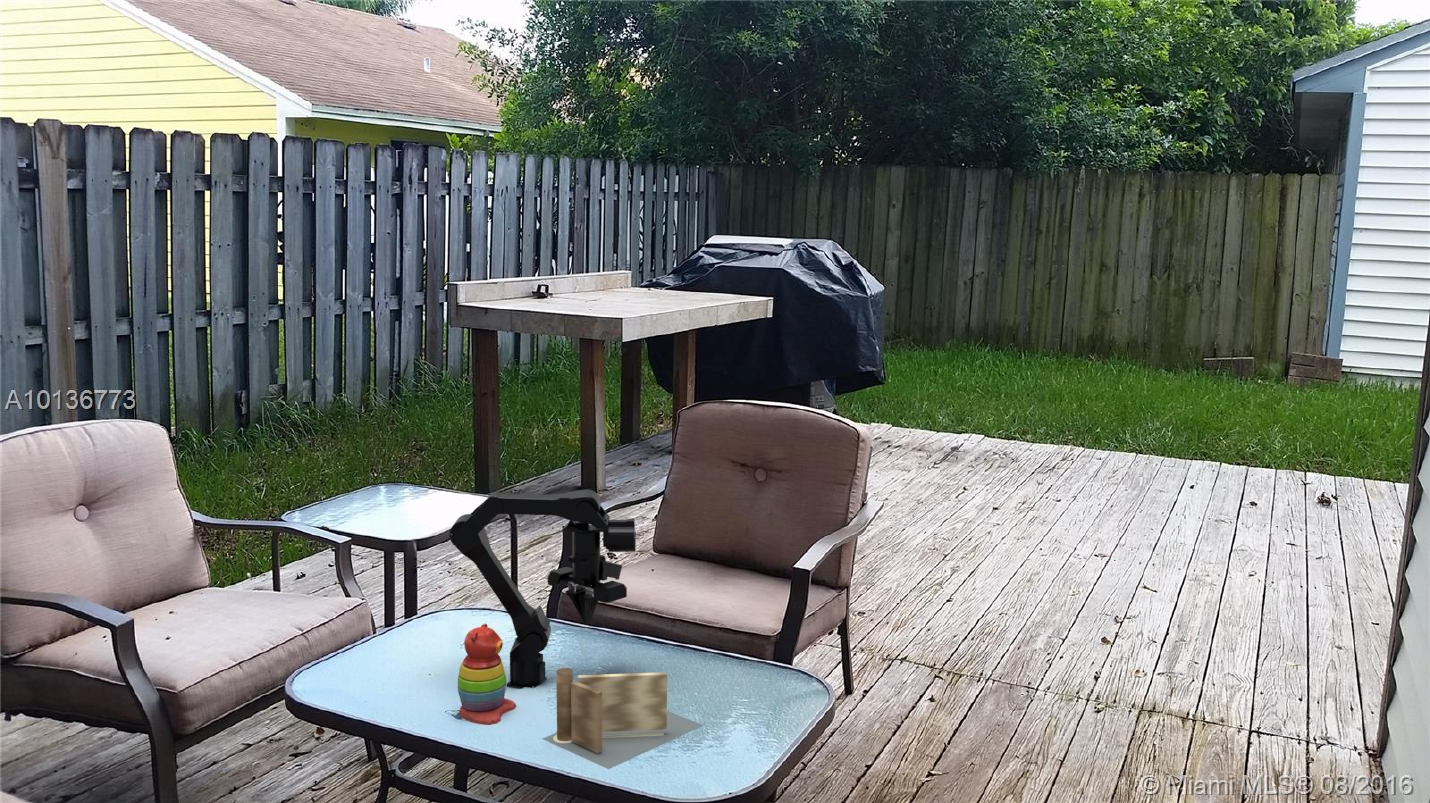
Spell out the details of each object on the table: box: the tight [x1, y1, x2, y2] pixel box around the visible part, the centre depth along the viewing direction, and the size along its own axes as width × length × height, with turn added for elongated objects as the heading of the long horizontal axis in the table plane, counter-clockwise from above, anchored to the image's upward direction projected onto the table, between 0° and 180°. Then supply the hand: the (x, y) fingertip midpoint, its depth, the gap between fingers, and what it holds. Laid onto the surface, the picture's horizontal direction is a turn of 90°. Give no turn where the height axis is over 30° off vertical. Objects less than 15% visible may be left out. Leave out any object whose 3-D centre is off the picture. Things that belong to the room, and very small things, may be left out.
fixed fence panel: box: [555, 667, 602, 753], centre depth 214 cm, size 11×3×13 cm, turn 48°
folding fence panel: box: [577, 671, 668, 732], centre depth 218 cm, size 16×1×11 cm, turn 97°
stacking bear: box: [457, 623, 517, 726], centre depth 228 cm, size 11×10×18 cm
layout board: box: [542, 710, 704, 770], centre depth 221 cm, size 18×25×1 cm
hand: (586, 623), depth 244 cm, fingers closed
